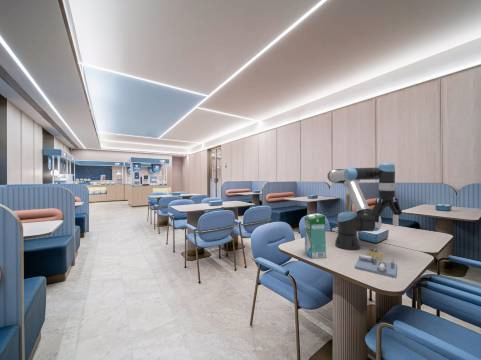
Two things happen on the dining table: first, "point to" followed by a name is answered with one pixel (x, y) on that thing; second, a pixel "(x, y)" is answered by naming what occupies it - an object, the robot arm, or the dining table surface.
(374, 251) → the block
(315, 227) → the milk carton
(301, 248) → the dining table surface
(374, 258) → the shaft bench
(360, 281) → the dining table surface
